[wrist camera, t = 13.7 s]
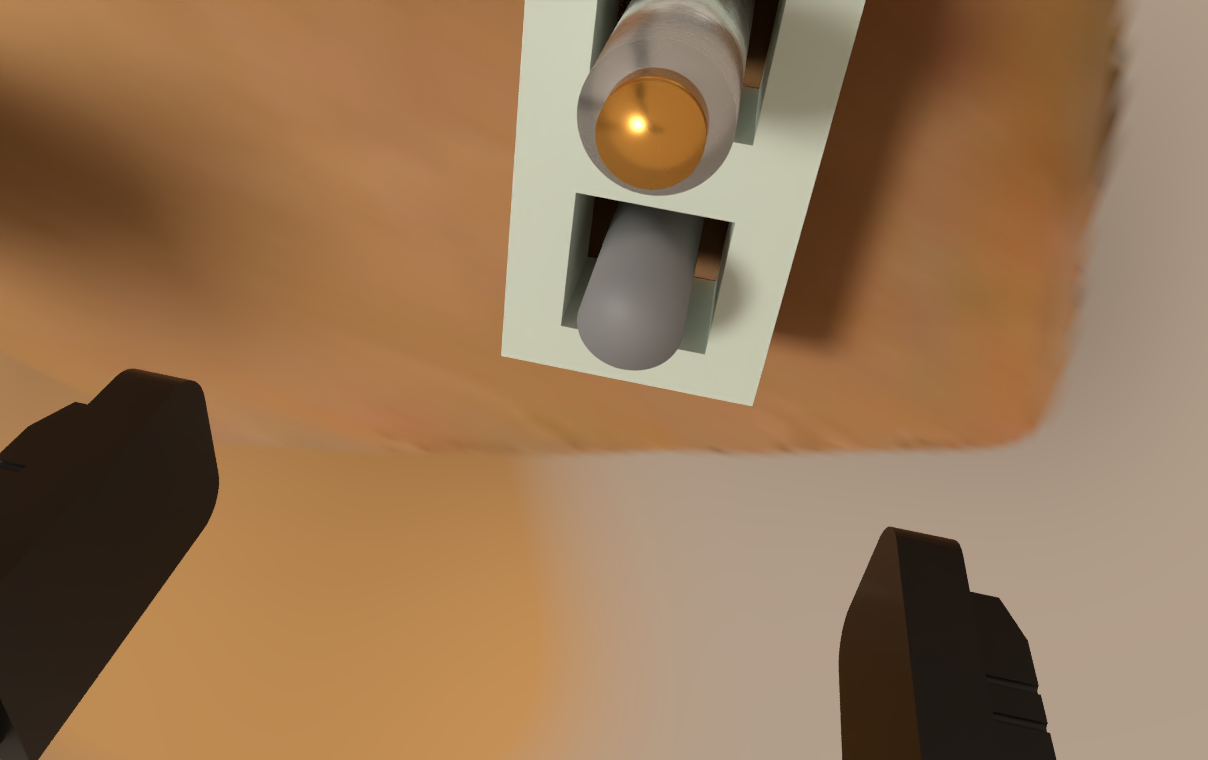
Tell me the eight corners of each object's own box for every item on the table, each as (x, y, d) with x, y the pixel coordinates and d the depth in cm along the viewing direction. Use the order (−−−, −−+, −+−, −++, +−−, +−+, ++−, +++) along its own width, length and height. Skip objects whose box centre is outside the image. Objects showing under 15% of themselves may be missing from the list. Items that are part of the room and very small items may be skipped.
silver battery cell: (651, -73, 29) (577, 38, 19) (767, -54, 28) (750, 69, 19) (635, 45, 31) (560, 198, 21) (742, 64, 31) (715, 227, 21)
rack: (574, -179, 27) (505, -143, 21) (879, -129, 27) (904, -76, 20) (533, 285, 37) (477, 406, 31) (757, 329, 36) (748, 462, 30)
